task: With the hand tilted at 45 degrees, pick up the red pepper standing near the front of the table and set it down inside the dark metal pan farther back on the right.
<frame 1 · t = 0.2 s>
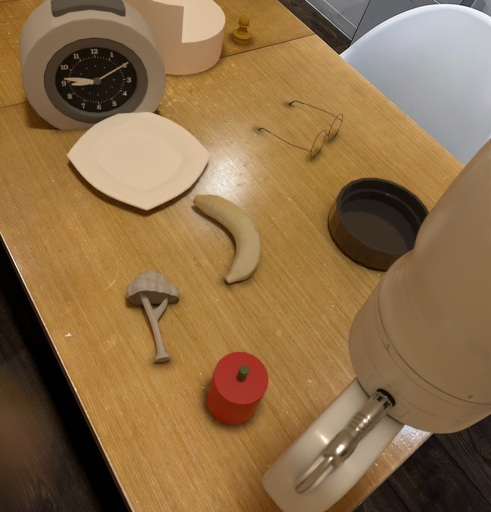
hand: (348, 423, 39), 20 cm above the table, tool pointing down, fingers open, 8 cm apart
eyeglasses: (299, 133, 90), on the table
alarm clock: (98, 113, 85), on the table, touching plate
pan: (374, 232, 79), on the table
chess piece: (241, 40, 105), on the table
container: (171, 45, 100), on the table
mushroom: (156, 320, 64), on the table
pepper: (232, 399, 59), on the table
plate: (141, 164, 79), on the table, touching alarm clock
fruit: (223, 239, 73), on the table
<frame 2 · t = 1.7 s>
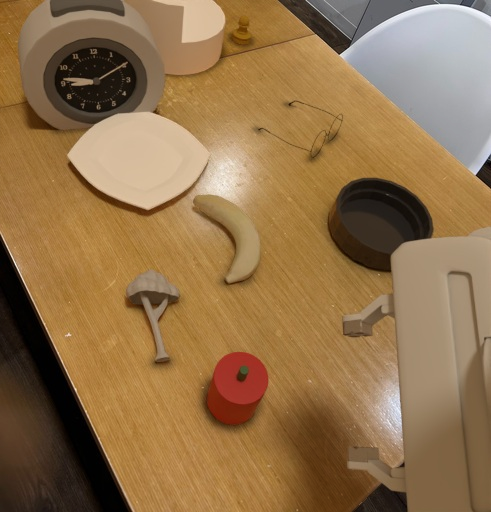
hand: (348, 389, 37), 23 cm above the table, tool tilted 45°, fingers open, 8 cm apart
plate: (141, 164, 79), on the table, touching alarm clock
everything else where it was.
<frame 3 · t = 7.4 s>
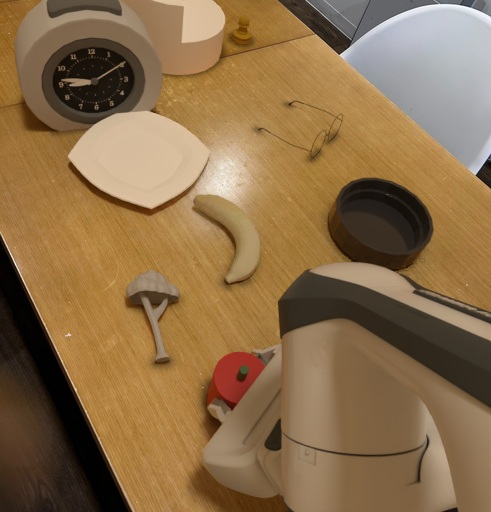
hand: (233, 381, 56), 5 cm above the table, tool tilted 45°, fingers closed on pepper, 6 cm apart
pepper: (232, 399, 59), on the table, touching gripper
everything else where it was.
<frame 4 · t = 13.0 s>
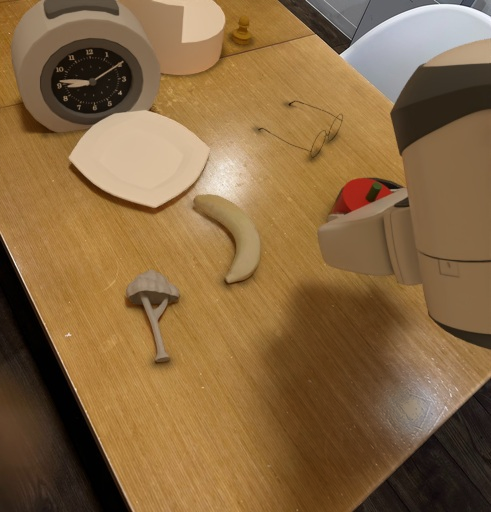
hand: (358, 209, 54), 19 cm above the table, tool tilted 45°, fingers closed on pepper, 6 cm apart
pepper: (348, 239, 57), point 15 cm above the table, touching gripper
everything else where it was.
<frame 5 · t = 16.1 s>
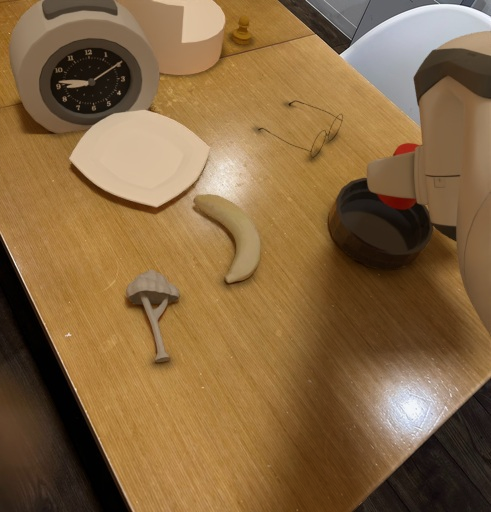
hand: (406, 168, 68), 13 cm above the table, tool tilted 45°, fingers closed on pepper, 6 cm apart
pepper: (395, 193, 72), point 9 cm above the table, touching gripper
when the fingers open (5 cm above the table, at t = 18.6 s): pepper stays where it is, resting on pan.
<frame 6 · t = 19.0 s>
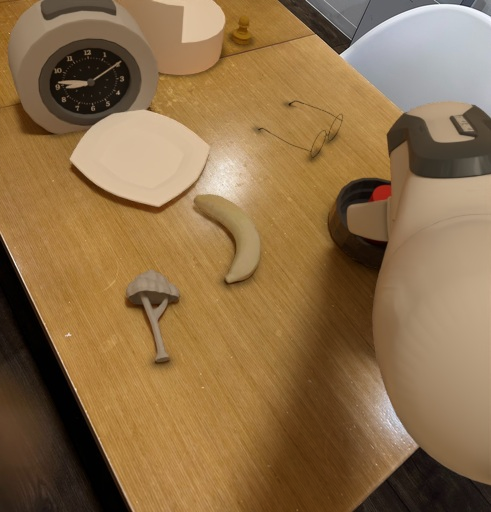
hand: (386, 206, 75), 5 cm above the table, tool tilted 45°, fingers open, 8 cm apart
pepper: (374, 229, 78), point 1 cm above the table, touching pan
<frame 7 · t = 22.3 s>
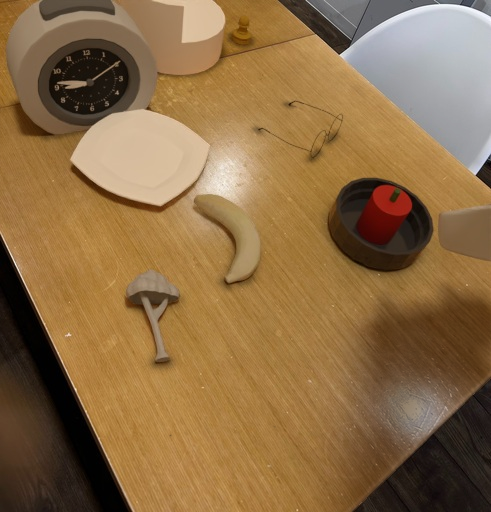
hand: (476, 213, 58), 19 cm above the table, tool tilted 45°, fingers open, 8 cm apart
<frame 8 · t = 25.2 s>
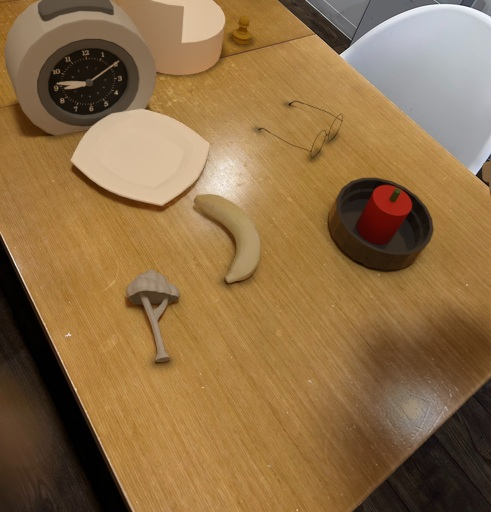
at the end: pepper inside the target area in the pan (0.1 cm from its centre), point 0.6 cm above the pan's base; the gripper is holding nothing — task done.
